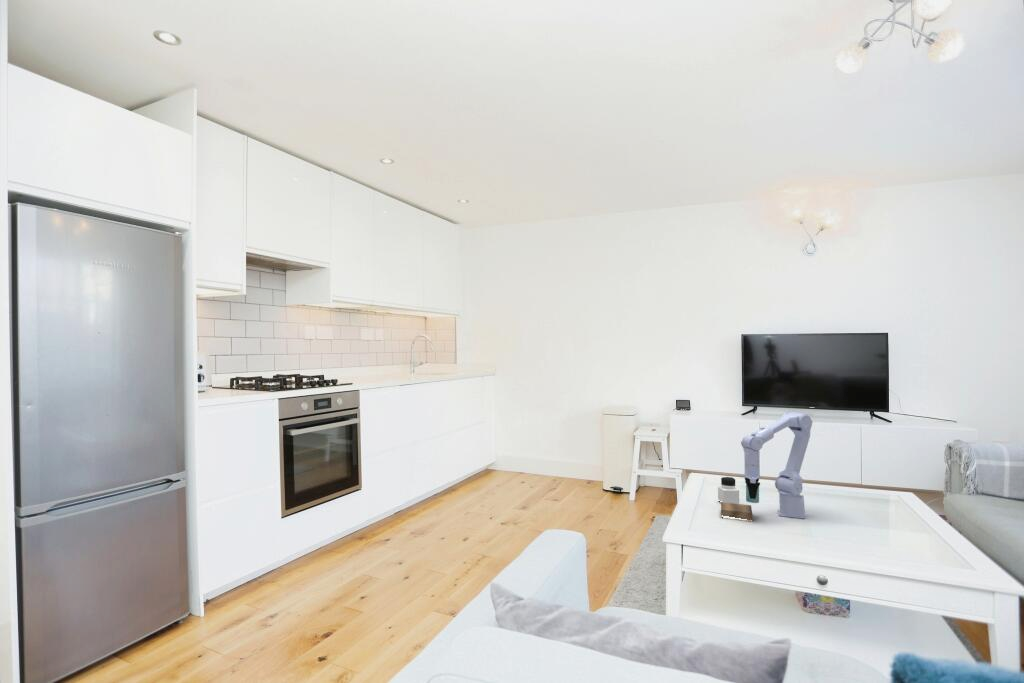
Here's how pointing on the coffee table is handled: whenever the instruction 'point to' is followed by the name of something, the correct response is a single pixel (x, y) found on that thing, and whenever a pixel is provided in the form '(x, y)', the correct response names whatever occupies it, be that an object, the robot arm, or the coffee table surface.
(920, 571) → the coffee table surface
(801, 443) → the robot arm
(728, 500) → the medicine bottle
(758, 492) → the teal tin
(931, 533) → the coffee table surface
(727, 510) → the walnut block
